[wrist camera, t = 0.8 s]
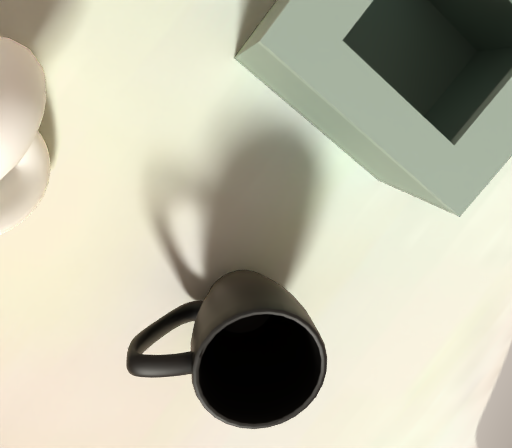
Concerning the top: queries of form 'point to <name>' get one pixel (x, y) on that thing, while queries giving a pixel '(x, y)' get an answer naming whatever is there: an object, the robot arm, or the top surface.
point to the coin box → (398, 86)
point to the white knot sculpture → (21, 134)
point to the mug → (241, 351)
